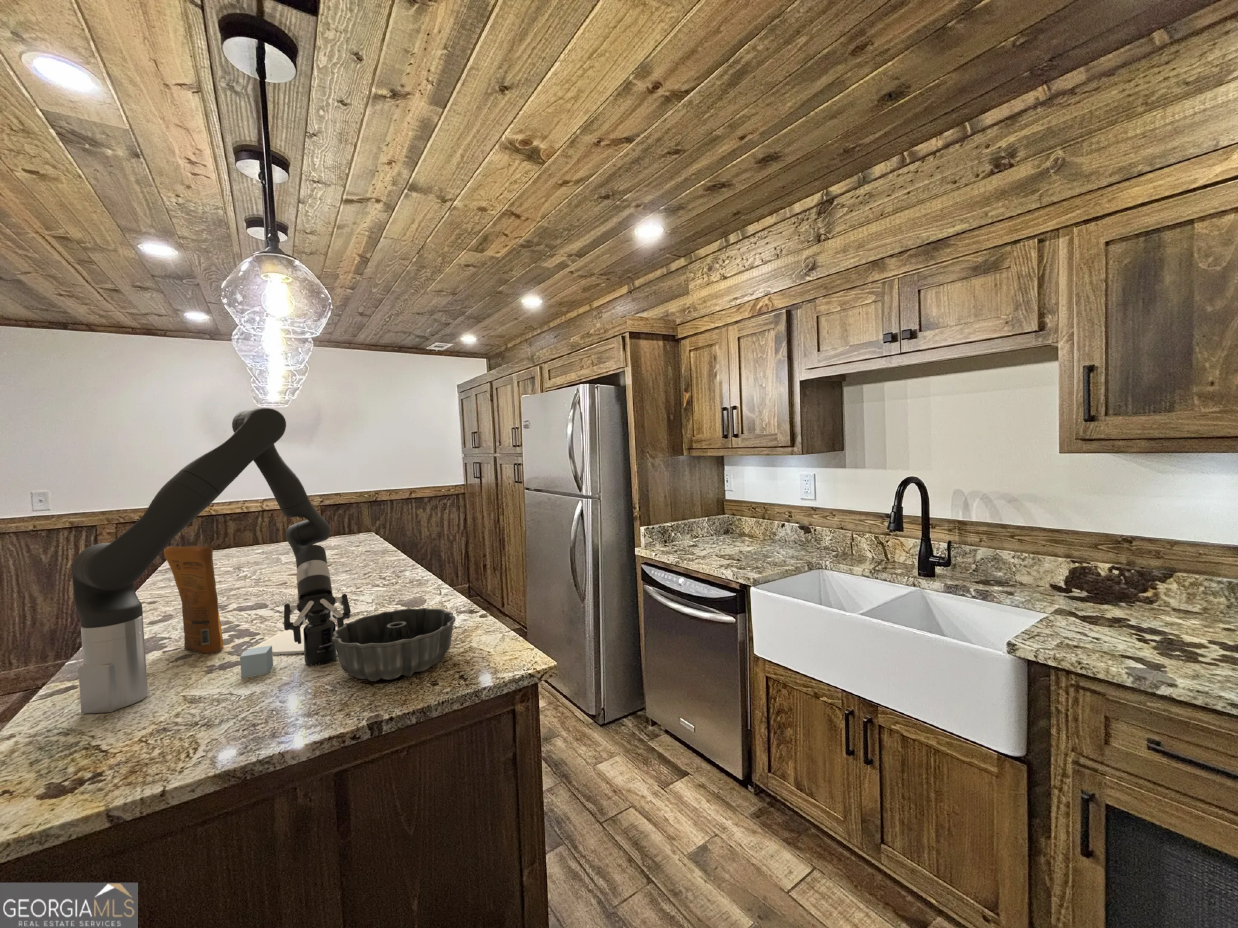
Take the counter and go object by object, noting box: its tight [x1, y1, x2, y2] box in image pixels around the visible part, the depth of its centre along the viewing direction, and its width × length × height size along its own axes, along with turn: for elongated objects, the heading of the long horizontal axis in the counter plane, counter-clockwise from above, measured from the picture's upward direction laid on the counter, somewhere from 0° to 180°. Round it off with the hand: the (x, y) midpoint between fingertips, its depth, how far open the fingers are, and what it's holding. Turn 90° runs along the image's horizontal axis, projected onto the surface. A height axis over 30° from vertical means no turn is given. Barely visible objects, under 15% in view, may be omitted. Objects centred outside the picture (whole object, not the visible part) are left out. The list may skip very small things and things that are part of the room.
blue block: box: [239, 645, 274, 679], centre depth 120 cm, size 5×5×5 cm
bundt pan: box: [332, 607, 456, 682], centre depth 120 cm, size 26×26×10 cm
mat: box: [240, 626, 337, 656], centre depth 139 cm, size 18×18×1 cm
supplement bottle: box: [303, 609, 338, 666], centre depth 125 cm, size 7×7×12 cm
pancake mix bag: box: [163, 545, 225, 654], centre depth 137 cm, size 7×19×28 cm, turn 63°
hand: (320, 637), depth 124 cm, fingers open, 8 cm apart
